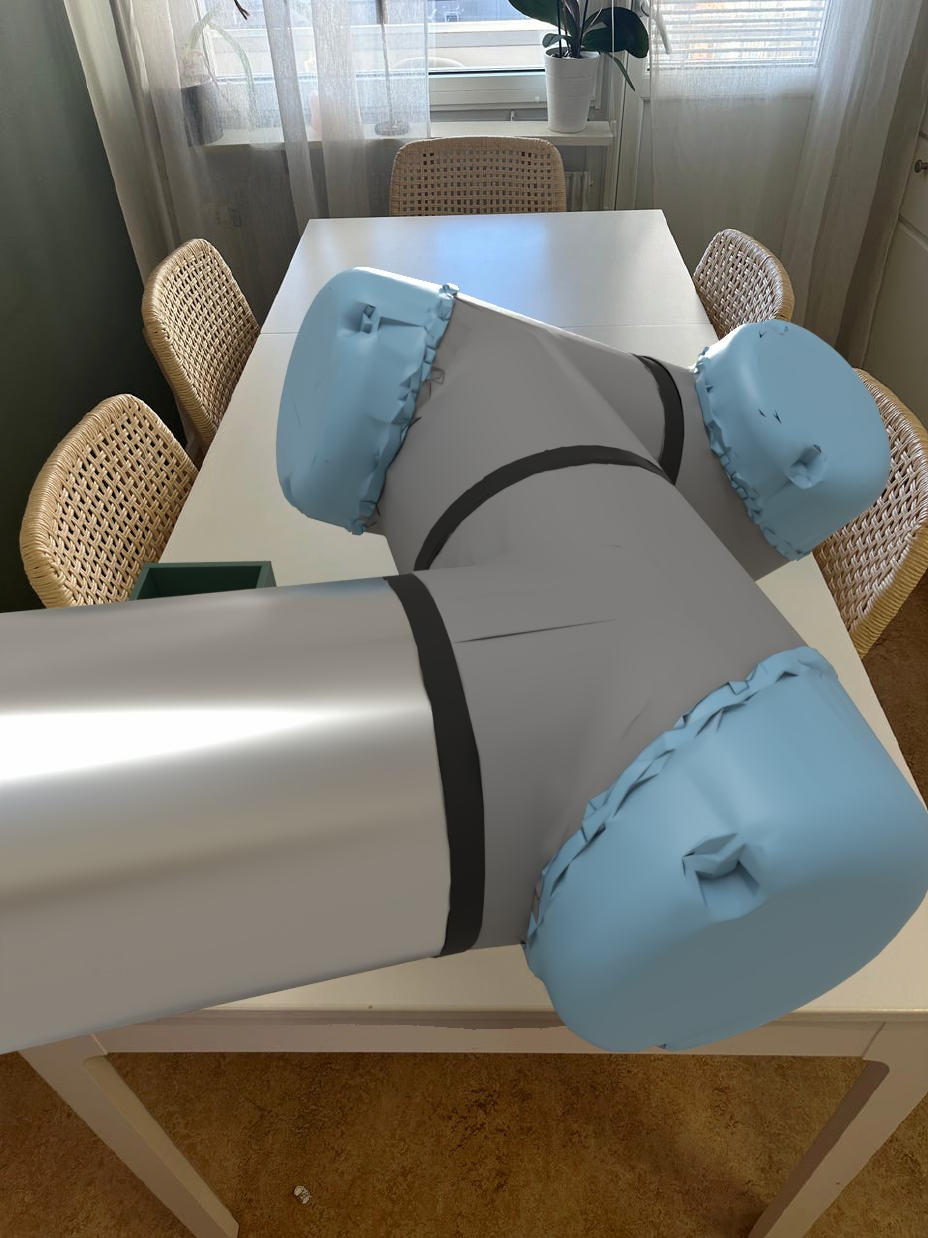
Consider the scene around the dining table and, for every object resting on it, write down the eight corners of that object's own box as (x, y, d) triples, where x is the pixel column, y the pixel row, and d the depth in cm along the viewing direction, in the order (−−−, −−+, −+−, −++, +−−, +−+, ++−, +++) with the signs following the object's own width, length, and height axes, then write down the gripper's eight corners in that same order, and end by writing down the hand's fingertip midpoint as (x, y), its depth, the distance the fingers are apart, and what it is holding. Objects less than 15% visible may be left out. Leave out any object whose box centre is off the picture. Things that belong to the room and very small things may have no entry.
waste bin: (265, 719, 89) (246, 652, 82) (134, 721, 89) (104, 654, 82) (286, 627, 98) (270, 560, 92) (168, 628, 99) (144, 562, 92)
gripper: (540, 888, 33) (341, 948, 50) (683, 481, 48) (493, 632, 64) (379, 783, 32) (229, 881, 48) (578, 397, 46) (411, 574, 63)
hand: (380, 739), depth 56 cm, fingers open, 13 cm apart
